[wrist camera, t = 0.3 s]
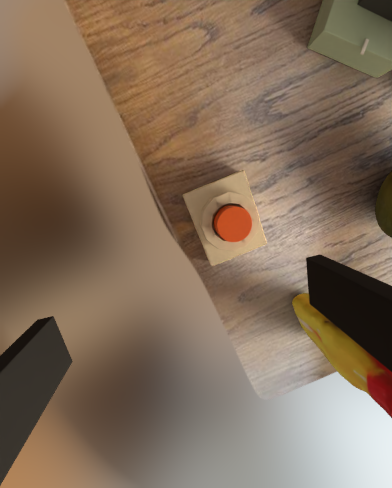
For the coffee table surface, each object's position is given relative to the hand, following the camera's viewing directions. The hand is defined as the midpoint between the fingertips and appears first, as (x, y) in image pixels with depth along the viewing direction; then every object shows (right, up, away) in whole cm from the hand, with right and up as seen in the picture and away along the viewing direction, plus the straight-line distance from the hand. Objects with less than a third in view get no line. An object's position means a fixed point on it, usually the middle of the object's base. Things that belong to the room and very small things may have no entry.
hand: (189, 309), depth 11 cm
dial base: (+19, +29, +14) cm, 38 cm away
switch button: (+4, +6, +15) cm, 17 cm away
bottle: (+19, -8, +24) cm, 31 cm away
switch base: (+4, +7, +18) cm, 20 cm away
